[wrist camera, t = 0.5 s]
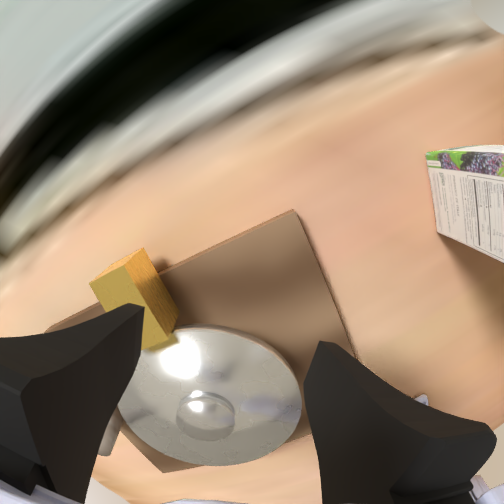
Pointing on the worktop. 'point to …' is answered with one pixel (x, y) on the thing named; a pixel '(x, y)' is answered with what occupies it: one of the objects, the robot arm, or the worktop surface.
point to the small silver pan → (199, 378)
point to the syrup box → (470, 196)
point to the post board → (246, 307)
